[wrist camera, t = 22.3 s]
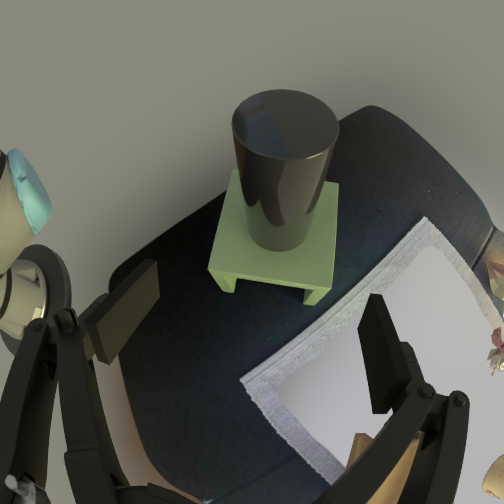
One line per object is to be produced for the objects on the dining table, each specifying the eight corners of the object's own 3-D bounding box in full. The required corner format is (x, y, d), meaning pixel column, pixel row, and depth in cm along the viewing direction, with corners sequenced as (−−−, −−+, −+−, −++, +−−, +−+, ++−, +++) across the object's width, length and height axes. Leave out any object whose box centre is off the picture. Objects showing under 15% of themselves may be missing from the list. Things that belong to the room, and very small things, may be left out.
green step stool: (222, 291, 36) (207, 269, 27) (240, 210, 40) (232, 168, 31) (314, 305, 35) (331, 288, 25) (323, 222, 39) (338, 183, 29)
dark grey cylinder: (241, 247, 27) (219, 152, 14) (252, 192, 30) (243, 85, 16) (306, 257, 27) (339, 168, 14) (312, 200, 29) (338, 96, 16)
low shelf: (335, 498, 25) (345, 518, 19) (355, 433, 28) (370, 446, 23) (403, 491, 24) (420, 506, 18) (422, 429, 27) (444, 438, 22)
